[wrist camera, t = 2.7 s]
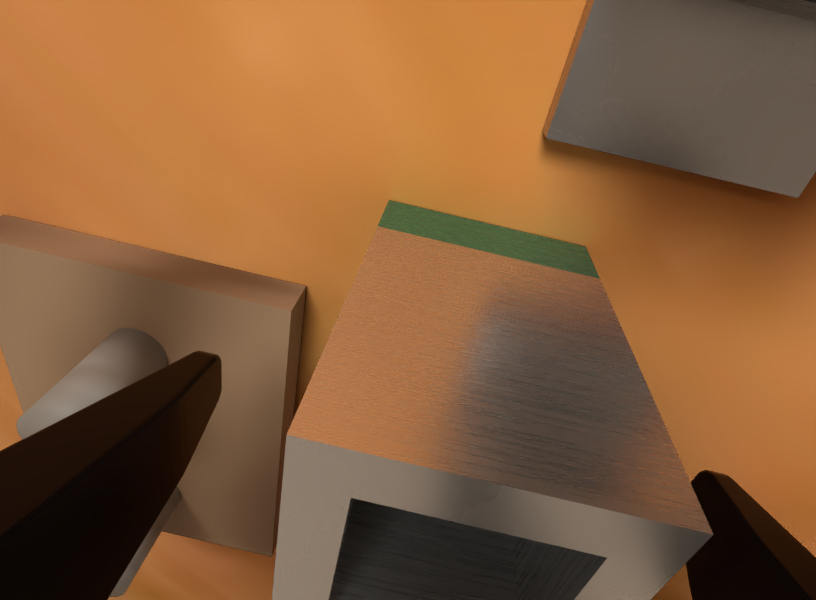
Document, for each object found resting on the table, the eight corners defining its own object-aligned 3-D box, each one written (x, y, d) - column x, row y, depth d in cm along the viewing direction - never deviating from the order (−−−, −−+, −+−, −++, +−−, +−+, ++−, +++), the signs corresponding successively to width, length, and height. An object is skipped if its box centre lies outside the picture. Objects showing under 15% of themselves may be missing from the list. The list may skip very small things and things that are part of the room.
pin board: (306, 286, 12) (238, 399, 9) (282, 526, 18) (236, 651, 15) (3, 214, 12) (-185, 300, 9) (78, 478, 18) (-17, 592, 15)
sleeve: (585, 246, 11) (713, 535, 5) (520, 391, 13) (555, 697, 8) (389, 200, 11) (286, 434, 5) (360, 353, 13) (269, 630, 8)
